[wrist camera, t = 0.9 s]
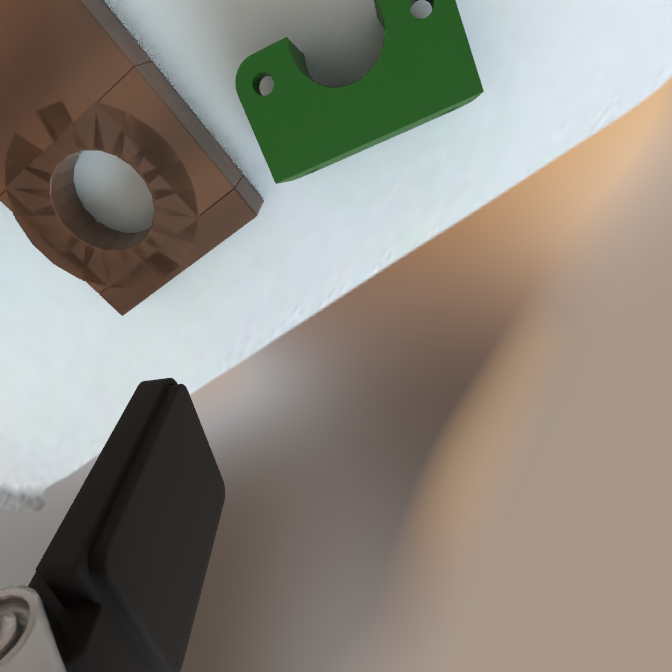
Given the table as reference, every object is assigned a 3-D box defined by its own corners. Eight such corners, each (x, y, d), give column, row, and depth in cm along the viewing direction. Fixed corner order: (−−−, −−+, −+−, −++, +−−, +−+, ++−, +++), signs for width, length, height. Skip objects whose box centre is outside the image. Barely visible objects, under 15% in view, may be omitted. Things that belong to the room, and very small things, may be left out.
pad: (-68, 108, 32) (-105, 117, 29) (68, -44, 28) (39, -50, 25) (130, 301, 39) (115, 321, 36) (264, 200, 34) (257, 216, 32)
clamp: (402, 25, 33) (475, -55, 24) (434, 121, 34) (514, 78, 26) (222, 93, 31) (231, 34, 22) (265, 192, 32) (289, 172, 24)
